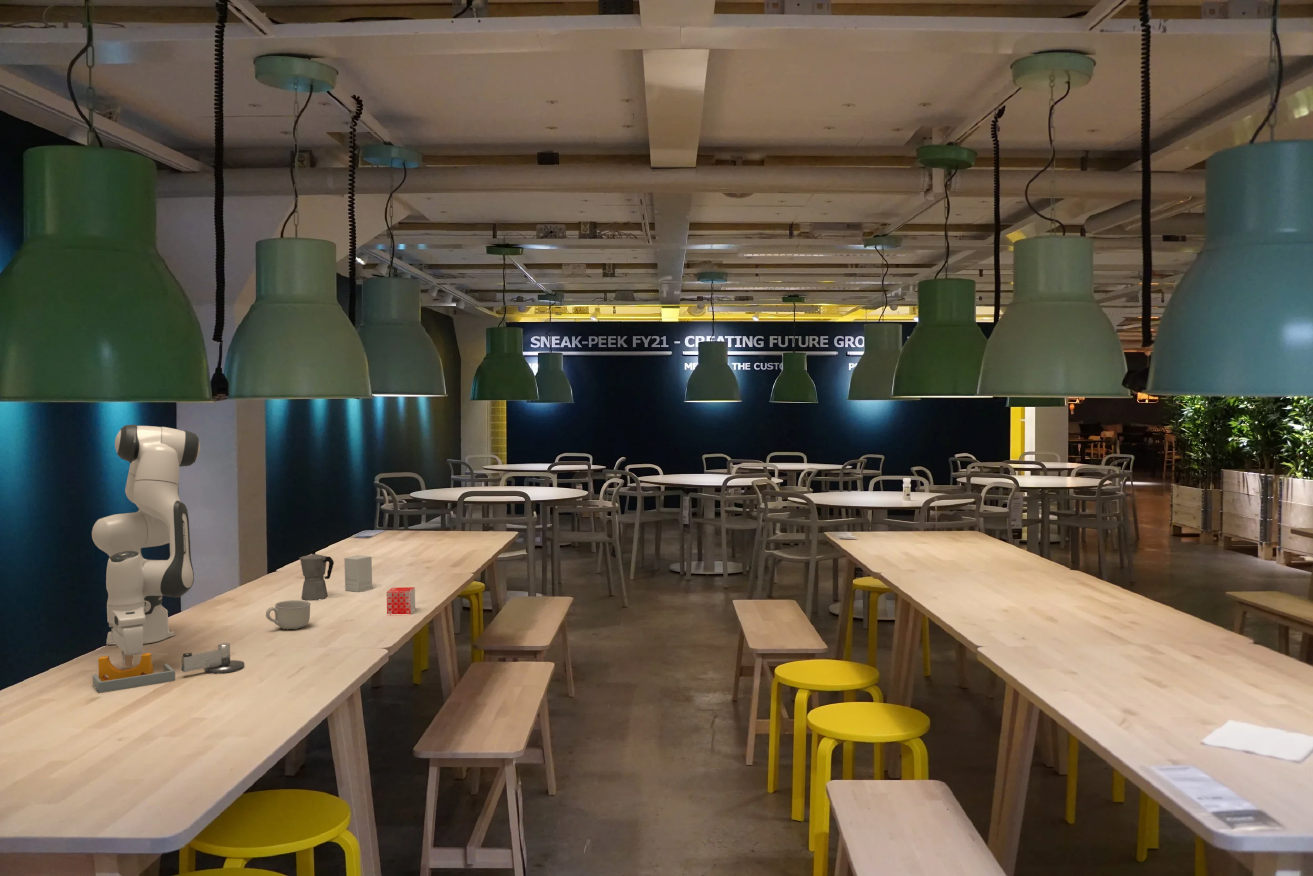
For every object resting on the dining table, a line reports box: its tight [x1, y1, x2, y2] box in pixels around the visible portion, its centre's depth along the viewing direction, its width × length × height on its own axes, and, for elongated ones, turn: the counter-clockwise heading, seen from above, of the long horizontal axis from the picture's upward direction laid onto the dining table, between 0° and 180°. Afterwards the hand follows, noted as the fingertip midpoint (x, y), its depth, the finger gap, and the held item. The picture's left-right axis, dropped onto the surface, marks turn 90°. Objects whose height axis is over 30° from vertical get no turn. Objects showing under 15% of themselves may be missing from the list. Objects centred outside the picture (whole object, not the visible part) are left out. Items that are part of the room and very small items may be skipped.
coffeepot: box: [298, 548, 335, 601], centre depth 373 cm, size 15×9×18 cm, turn 68°
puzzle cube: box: [386, 586, 416, 615], centre depth 348 cm, size 8×8×8 cm
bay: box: [92, 663, 176, 693], centre depth 264 cm, size 10×18×2 cm, turn 127°
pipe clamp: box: [97, 652, 154, 681], centre depth 267 cm, size 12×4×6 cm, turn 106°
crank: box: [180, 642, 231, 673], centre depth 273 cm, size 12×3×5 cm, turn 137°
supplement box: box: [343, 555, 373, 593], centre depth 389 cm, size 7×7×13 cm
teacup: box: [265, 599, 311, 631], centre depth 325 cm, size 14×11×8 cm
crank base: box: [203, 659, 245, 675], centre depth 277 cm, size 10×10×1 cm
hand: (127, 665), depth 271 cm, fingers closed
